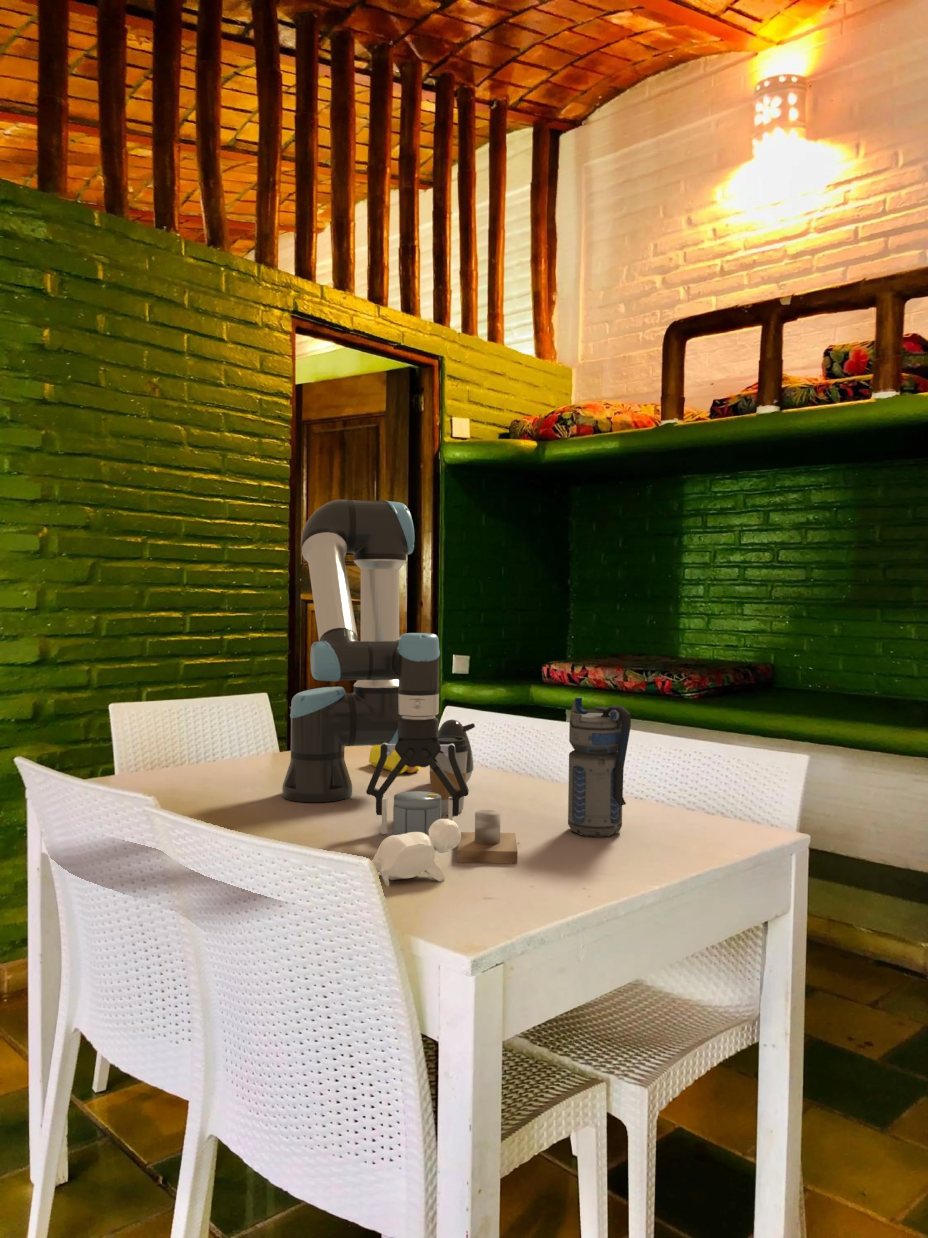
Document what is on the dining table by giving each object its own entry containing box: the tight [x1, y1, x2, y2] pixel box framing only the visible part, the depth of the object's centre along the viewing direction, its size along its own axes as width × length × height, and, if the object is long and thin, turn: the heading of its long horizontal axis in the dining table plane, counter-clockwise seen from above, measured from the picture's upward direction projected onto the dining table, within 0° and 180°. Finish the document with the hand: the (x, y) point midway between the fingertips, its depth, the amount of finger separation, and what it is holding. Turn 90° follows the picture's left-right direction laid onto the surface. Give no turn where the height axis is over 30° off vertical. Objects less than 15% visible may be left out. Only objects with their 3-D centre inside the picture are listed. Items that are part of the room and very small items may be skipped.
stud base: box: [457, 809, 518, 864], centre depth 168 cm, size 10×12×7 cm
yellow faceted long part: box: [368, 745, 421, 775], centre depth 242 cm, size 18×7×8 cm
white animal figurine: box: [371, 818, 462, 887], centre depth 154 cm, size 9×8×15 cm
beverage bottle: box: [567, 697, 632, 837], centre depth 182 cm, size 10×13×25 cm
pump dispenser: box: [438, 719, 476, 784], centre depth 223 cm, size 10×10×15 cm
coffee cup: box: [429, 736, 469, 816], centre depth 198 cm, size 8×8×15 cm
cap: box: [392, 790, 442, 836], centre depth 180 cm, size 9×9×7 cm
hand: (417, 833), depth 180 cm, fingers open, 12 cm apart
